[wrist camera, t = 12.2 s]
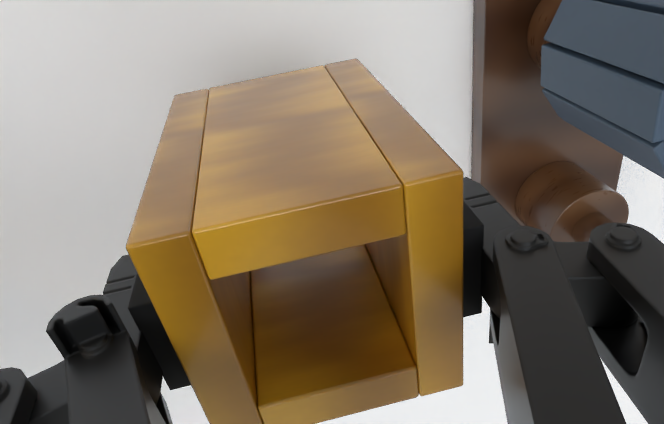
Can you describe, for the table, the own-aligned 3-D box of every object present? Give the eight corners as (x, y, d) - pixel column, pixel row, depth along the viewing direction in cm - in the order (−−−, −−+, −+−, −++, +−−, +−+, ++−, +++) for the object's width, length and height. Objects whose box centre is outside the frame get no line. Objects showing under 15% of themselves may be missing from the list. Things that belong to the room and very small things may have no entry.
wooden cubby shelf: (224, 245, 19) (220, 449, 12) (173, 94, 16) (122, 247, 8) (375, 211, 20) (464, 386, 12) (357, 57, 17) (464, 170, 9)
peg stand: (593, 232, 40) (746, 360, 28) (470, 263, 39) (575, 408, 28) (656, -106, 27) (982, -127, 16) (474, -72, 26) (674, -68, 15)
